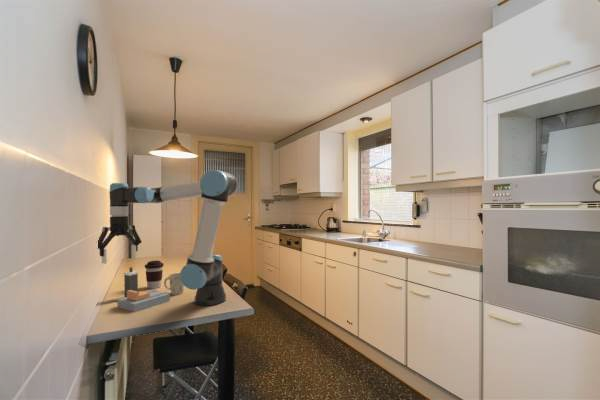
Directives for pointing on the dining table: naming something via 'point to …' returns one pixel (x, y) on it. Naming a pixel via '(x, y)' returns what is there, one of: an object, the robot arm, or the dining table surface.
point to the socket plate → (144, 301)
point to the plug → (131, 280)
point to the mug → (175, 284)
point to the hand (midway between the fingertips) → (119, 260)
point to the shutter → (137, 295)
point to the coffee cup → (154, 274)
